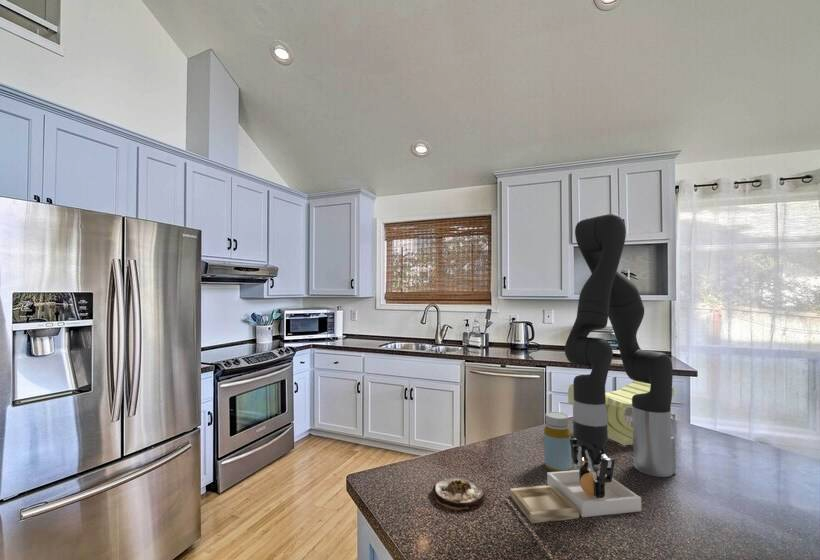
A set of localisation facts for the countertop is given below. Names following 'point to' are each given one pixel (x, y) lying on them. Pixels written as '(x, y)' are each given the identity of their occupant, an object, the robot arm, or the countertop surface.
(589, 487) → the ball
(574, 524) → the countertop surface
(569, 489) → the dish
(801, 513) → the countertop surface
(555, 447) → the bottle
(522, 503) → the tray
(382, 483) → the countertop surface
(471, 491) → the sushi roll
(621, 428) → the pale yellow ridged piece
